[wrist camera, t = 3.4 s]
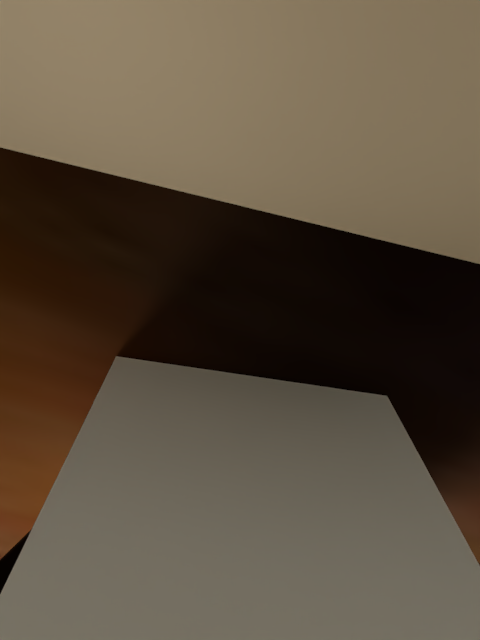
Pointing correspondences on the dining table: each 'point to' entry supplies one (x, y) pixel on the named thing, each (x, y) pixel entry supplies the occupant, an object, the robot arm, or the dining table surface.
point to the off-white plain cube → (241, 520)
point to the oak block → (262, 105)
